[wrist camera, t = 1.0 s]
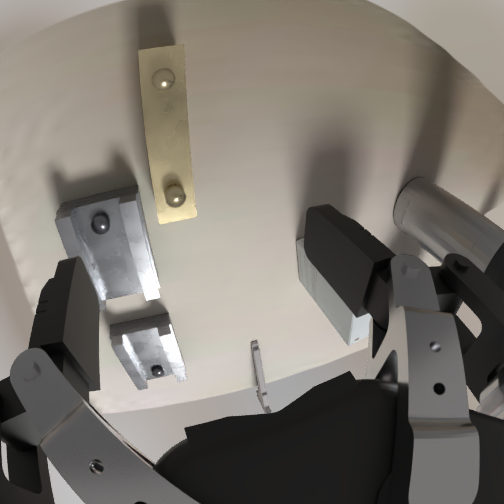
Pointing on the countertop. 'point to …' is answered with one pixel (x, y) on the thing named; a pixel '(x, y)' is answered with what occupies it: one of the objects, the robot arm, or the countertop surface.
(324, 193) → the countertop surface
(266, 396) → the caliper
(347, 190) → the countertop surface
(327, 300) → the supplement box
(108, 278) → the metal brackets
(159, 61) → the chain link plate
